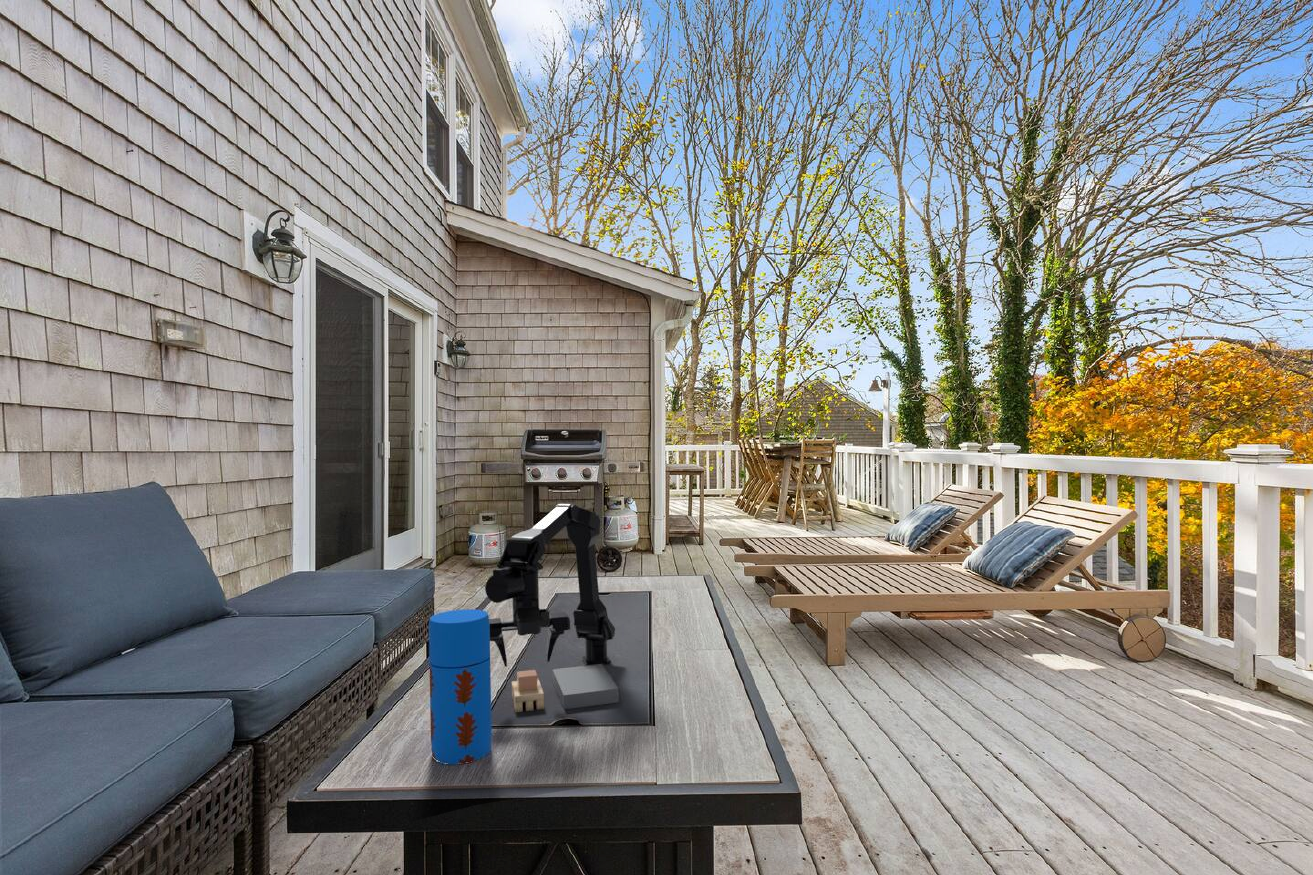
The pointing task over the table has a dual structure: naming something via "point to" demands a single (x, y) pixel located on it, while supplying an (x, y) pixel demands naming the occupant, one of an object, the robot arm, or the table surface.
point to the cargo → (527, 680)
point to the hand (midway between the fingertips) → (527, 663)
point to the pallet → (527, 697)
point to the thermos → (460, 685)
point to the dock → (585, 686)
